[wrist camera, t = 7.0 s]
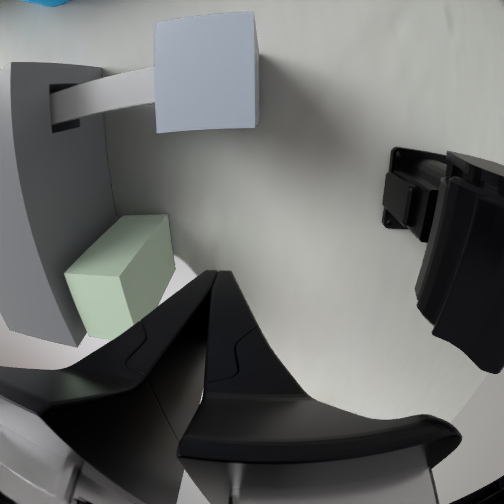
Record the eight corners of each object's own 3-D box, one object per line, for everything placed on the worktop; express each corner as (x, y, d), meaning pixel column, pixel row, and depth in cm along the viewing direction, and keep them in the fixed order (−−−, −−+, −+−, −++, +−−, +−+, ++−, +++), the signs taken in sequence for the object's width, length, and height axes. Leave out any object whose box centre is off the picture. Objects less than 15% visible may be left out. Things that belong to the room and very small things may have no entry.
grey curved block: (101, 67, 17) (10, 62, 8) (128, 271, 25) (77, 347, 16) (32, 92, 17) (-52, 107, 8) (64, 267, 25) (9, 329, 17)
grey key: (258, 51, 16) (253, 11, 8) (259, 119, 19) (255, 127, 11) (62, 85, 17) (-18, 92, 9) (66, 141, 19) (-11, 169, 11)
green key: (167, 214, 22) (119, 276, 14) (175, 269, 24) (140, 344, 17) (41, 220, 23) (-19, 266, 15) (54, 264, 25) (4, 317, 17)
